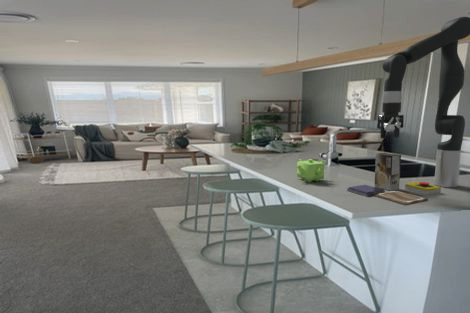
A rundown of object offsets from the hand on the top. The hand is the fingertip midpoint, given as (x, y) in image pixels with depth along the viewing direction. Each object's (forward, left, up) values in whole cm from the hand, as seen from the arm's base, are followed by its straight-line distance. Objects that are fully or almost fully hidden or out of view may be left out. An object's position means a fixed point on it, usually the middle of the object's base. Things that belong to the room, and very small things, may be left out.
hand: (389, 137), depth 142 cm
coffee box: (0, 0, -24) cm, 24 cm away
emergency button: (-9, +11, -24) cm, 28 cm away
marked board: (+9, +14, -24) cm, 29 cm away
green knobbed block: (+20, -30, -24) cm, 43 cm away
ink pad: (+14, 0, -24) cm, 27 cm away
